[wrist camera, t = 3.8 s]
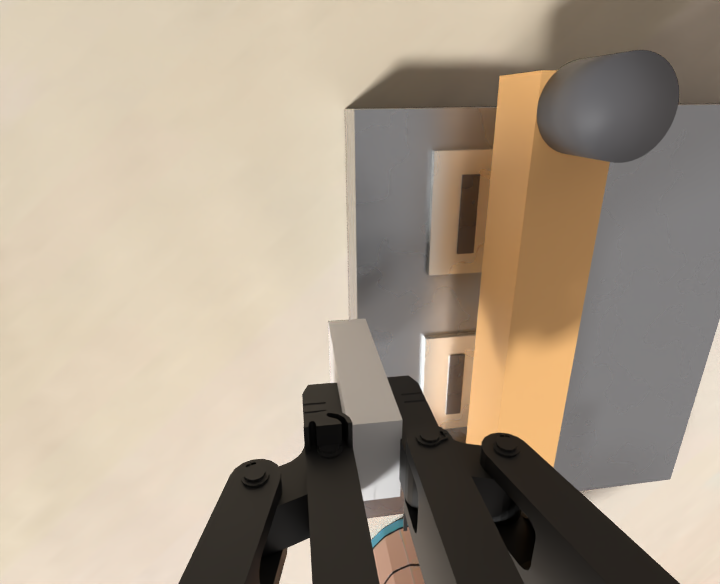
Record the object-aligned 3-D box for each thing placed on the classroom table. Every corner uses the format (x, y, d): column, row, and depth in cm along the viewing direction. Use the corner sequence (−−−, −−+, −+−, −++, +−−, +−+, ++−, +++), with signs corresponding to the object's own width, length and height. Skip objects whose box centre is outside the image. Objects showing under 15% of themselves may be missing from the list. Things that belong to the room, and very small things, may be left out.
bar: (526, 547, 25) (581, 649, 20) (430, 560, 24) (465, 669, 19) (608, 66, 16) (738, 50, 11) (463, 66, 15) (538, 49, 11)
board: (344, 108, 20) (379, 111, 12) (723, 103, 22) (942, 103, 15) (352, 477, 27) (377, 615, 20) (634, 444, 30) (749, 556, 22)
